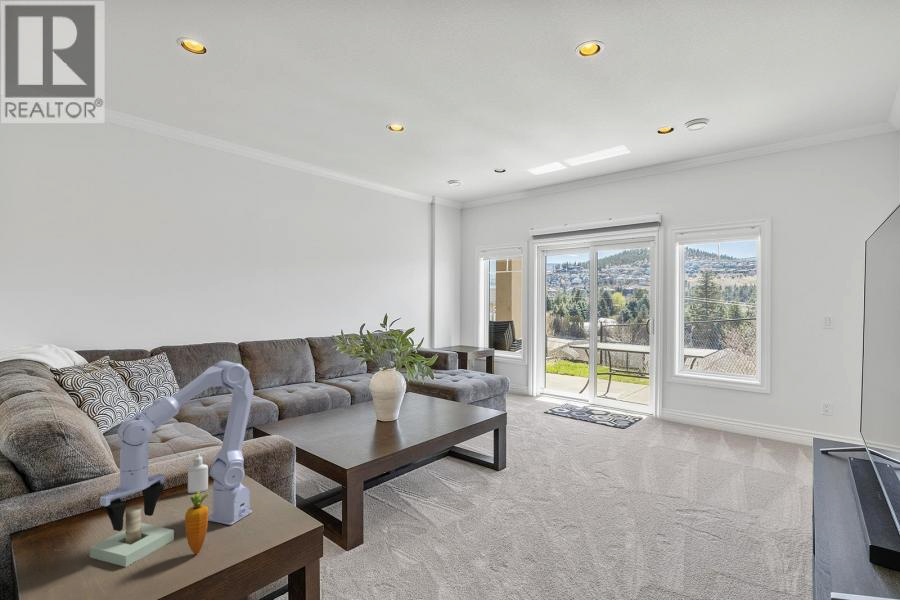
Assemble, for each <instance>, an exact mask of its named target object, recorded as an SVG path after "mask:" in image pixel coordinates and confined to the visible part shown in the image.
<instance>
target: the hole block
mask: <svg viewBox="0 0 900 600" xmlns="http://www.w3.org/2000/svg"><path fill="white" fill-rule="evenodd" d="M125 530H126V529H123V530H121V531H119V532H117V533H115V534H114V535H111V536H109V537H107V538H105V539H103V540H101V541H99V542H97V543H95V544H94V545H91V546H90V547H89V558H91V559H95V560H98V561H102V562H106V563H108V564H109V563H110V564H114V565H117V566H121V567H124V568H127V567H129V566H130V564H131V565H133V564H134V563H135V561H136V562H138V561H140V560H141V559H143V558H144V557H146V556H149V555H150V554H152V553H153V552H155V551H157V550H158V549H160V548H162V547H164V546H165V545H167V544H170V543H171V542H173V541H175V539H174V538H175V530H174V529H171V528H166V527H161V526H158V525H152V524H150V523H149V524H148V523H144V522H142V526H141V540H139V541H137V542H135V543H133V544H131V545H130V544H126V543H125ZM137 560H138V561H137ZM133 562H134V563H133Z"/></svg>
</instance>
